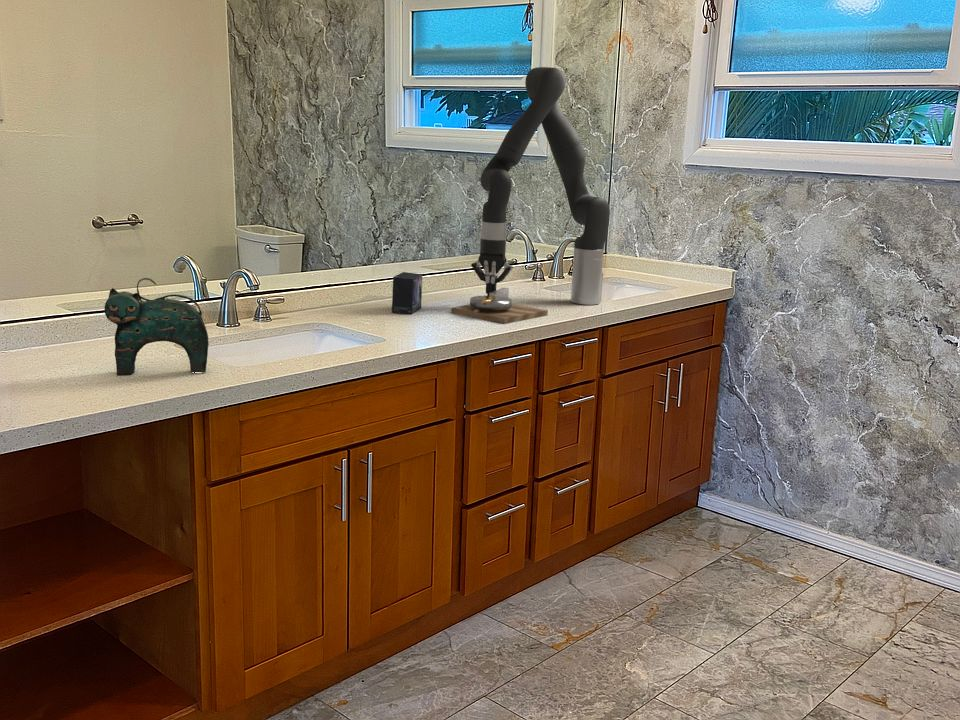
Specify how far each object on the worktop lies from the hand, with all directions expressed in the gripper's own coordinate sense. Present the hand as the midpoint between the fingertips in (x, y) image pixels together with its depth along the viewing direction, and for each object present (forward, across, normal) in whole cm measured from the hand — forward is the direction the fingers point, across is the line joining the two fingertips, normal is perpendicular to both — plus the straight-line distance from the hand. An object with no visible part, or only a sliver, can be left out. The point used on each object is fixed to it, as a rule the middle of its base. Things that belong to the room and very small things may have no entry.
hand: (490, 295), depth 284 cm
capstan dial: (+2, +3, -6) cm, 7 cm away
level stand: (+4, +5, -7) cm, 9 cm away
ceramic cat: (+4, -35, -107) cm, 113 cm away
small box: (+4, -20, -17) cm, 26 cm away
